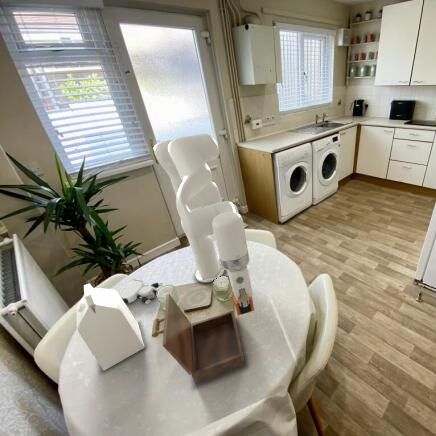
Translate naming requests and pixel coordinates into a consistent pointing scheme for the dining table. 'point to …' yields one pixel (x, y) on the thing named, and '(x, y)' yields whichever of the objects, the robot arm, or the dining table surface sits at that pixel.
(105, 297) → the milk
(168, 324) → the chest lid
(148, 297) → the robot toy
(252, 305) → the orange cube
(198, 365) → the chest
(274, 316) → the dining table surface
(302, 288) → the dining table surface
